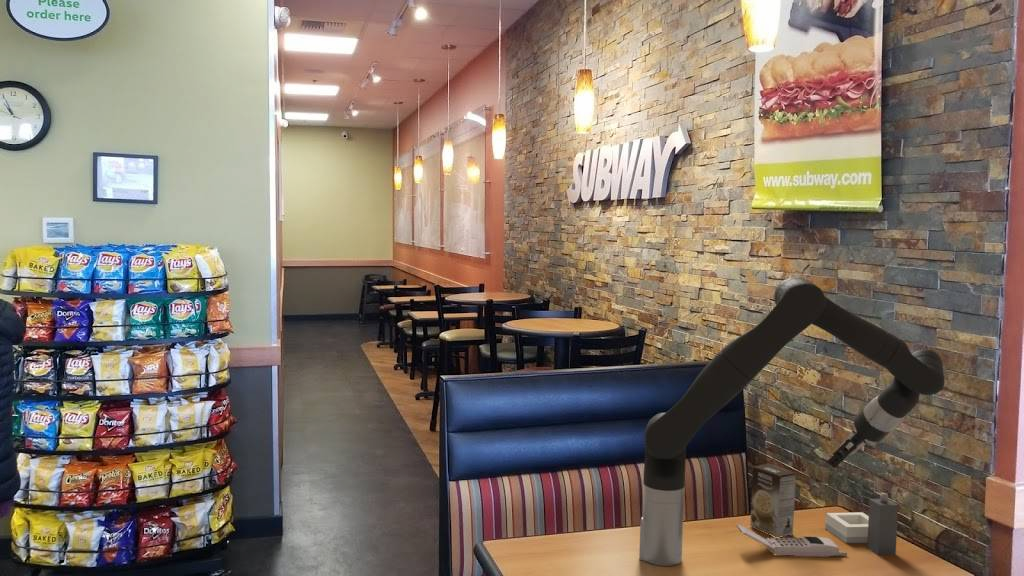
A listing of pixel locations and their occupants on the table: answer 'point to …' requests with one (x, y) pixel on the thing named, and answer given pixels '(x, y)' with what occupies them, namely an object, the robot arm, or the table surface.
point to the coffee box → (773, 499)
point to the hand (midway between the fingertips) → (839, 457)
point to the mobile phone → (797, 545)
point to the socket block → (848, 526)
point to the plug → (882, 525)
